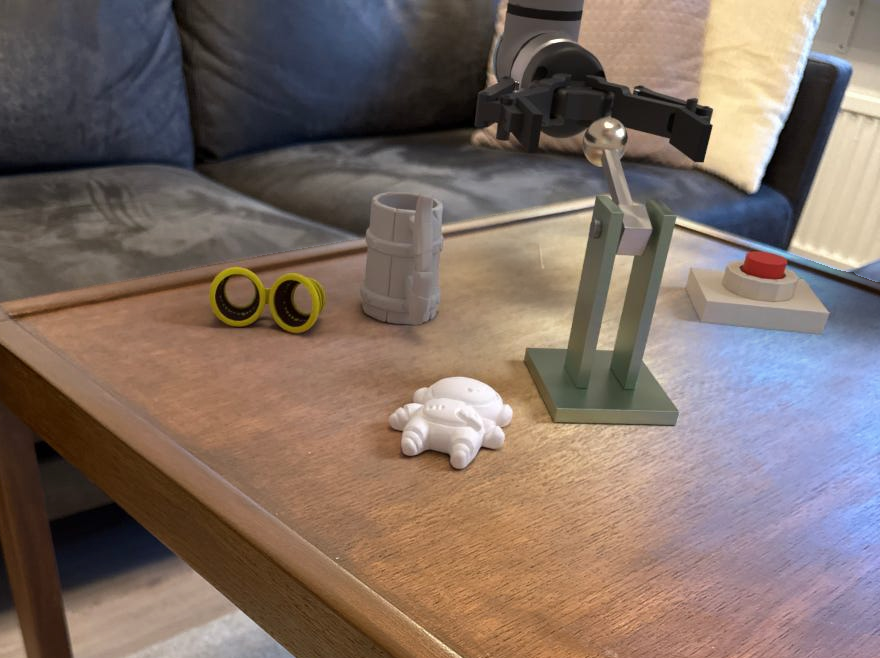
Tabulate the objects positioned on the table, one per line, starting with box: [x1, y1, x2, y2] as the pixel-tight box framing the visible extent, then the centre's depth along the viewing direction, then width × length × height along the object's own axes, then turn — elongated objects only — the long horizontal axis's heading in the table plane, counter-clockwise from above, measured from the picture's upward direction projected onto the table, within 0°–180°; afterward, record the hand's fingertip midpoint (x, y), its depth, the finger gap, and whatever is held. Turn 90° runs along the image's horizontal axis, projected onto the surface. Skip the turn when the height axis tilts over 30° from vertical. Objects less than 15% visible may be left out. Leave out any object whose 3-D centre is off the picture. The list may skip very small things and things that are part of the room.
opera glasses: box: [208, 266, 327, 334], centre depth 87 cm, size 10×5×5 cm, turn 85°
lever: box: [582, 116, 653, 257], centre depth 77 cm, size 14×4×4 cm, turn 6°
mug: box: [359, 191, 445, 326], centre depth 88 cm, size 8×12×12 cm, turn 14°
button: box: [742, 250, 788, 280], centre depth 98 cm, size 4×4×2 cm
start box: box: [684, 259, 830, 335], centre depth 100 cm, size 12×10×4 cm
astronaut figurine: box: [388, 376, 514, 470], centre depth 74 cm, size 9×12×3 cm
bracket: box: [523, 195, 680, 426], centre depth 78 cm, size 12×10×15 cm
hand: (620, 139), depth 76 cm, fingers open, 13 cm apart
